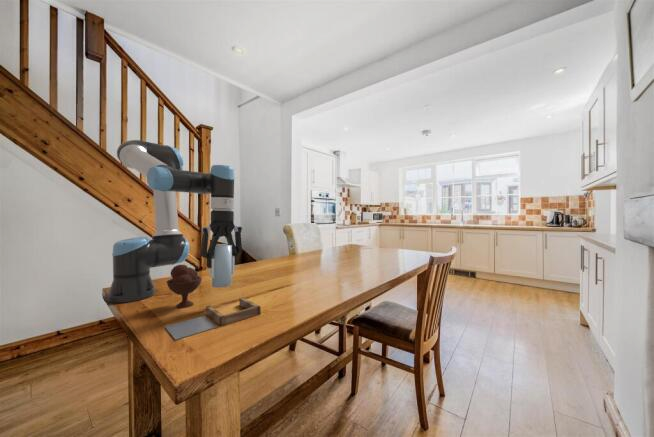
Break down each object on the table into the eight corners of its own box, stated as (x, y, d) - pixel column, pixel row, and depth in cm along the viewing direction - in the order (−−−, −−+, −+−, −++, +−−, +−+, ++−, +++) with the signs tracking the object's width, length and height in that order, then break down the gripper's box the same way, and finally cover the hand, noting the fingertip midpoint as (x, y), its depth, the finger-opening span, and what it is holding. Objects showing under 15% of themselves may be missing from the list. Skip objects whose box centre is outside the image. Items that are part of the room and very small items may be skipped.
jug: (216, 288, 85) (216, 247, 85) (206, 282, 92) (206, 244, 91) (234, 285, 90) (235, 245, 89) (224, 279, 96) (224, 243, 96)
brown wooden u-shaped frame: (206, 313, 84) (205, 306, 84) (242, 304, 93) (242, 297, 93) (221, 326, 75) (221, 317, 75) (260, 313, 84) (260, 306, 84)
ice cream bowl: (187, 312, 85) (186, 267, 85) (159, 309, 88) (158, 266, 87) (208, 301, 96) (207, 262, 96) (182, 299, 98) (182, 261, 98)
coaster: (164, 327, 74) (164, 326, 74) (204, 316, 82) (204, 315, 82) (175, 340, 66) (175, 339, 66) (218, 327, 74) (218, 326, 74)
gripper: (196, 209, 79) (196, 282, 80) (253, 210, 93) (252, 272, 94) (188, 209, 85) (188, 277, 85) (243, 210, 98) (242, 269, 99)
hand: (222, 275), depth 90 cm, fingers closed on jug, 6 cm apart
